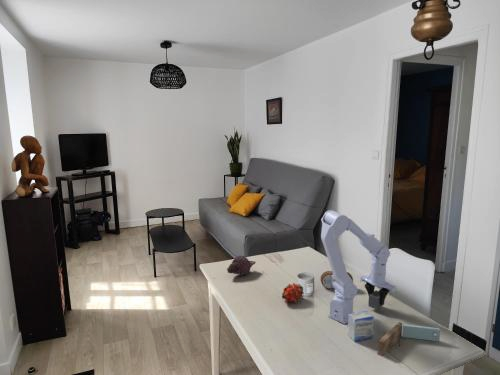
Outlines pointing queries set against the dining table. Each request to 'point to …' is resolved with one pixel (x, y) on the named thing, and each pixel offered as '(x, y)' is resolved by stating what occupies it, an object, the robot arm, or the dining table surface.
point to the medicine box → (360, 325)
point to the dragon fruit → (293, 293)
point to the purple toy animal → (240, 265)
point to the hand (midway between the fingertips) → (376, 302)
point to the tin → (329, 279)
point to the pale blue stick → (421, 332)
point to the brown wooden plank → (389, 339)
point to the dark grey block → (375, 300)
